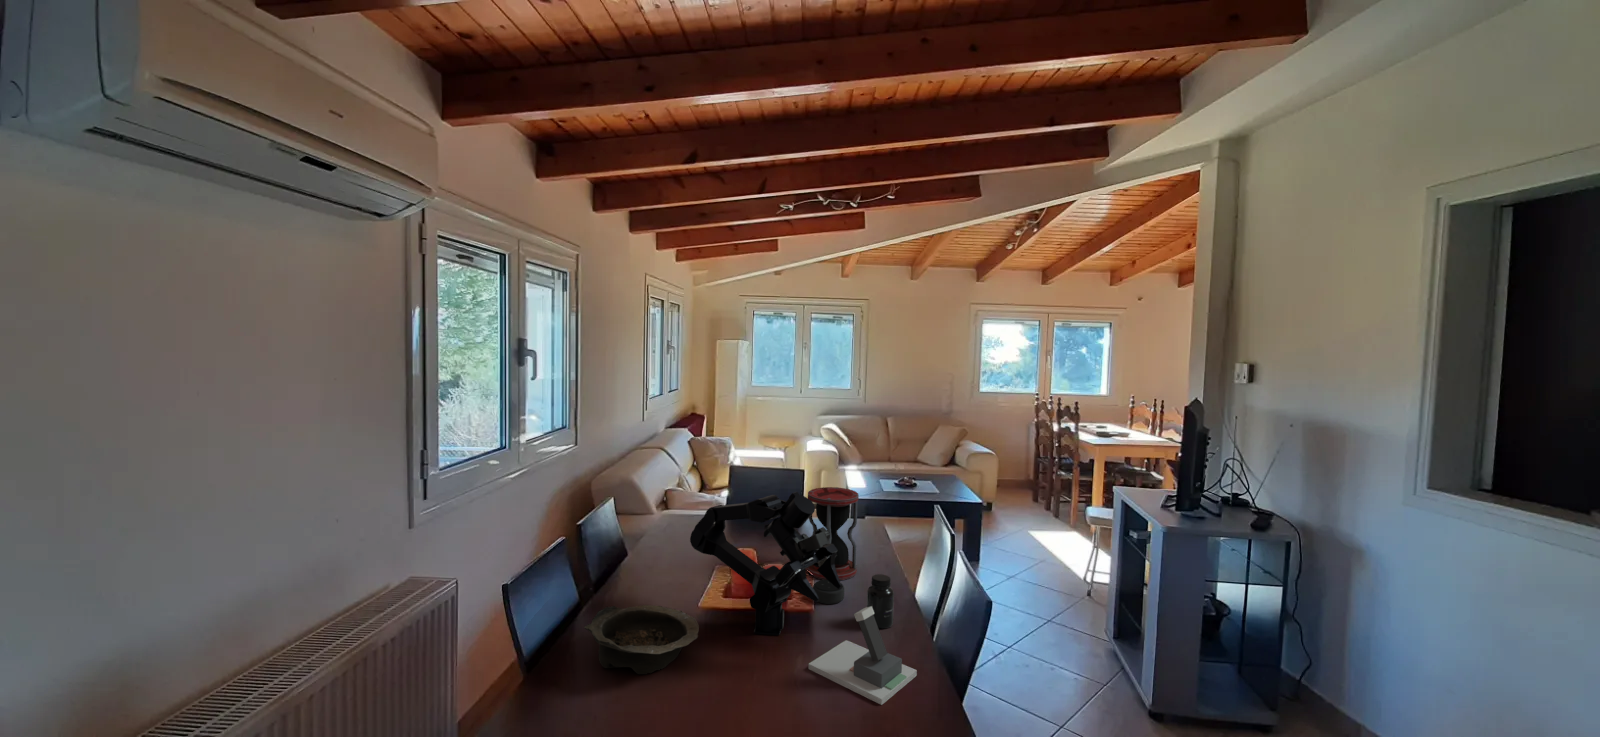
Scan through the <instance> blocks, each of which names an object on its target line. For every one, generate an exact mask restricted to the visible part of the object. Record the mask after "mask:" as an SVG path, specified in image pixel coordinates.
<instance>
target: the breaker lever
mask: <svg viewBox="0 0 1600 737" xmlns="http://www.w3.org/2000/svg"><path fill="white" fill-rule="evenodd" d="M873 614H875V613H874V611H873V608H872V606H871V607H867V606H866V607H864V608H862V609H860V610H858V611H857V612H855V613H854V614H853V615H854V617H855V618H854V619H855V620H856V622H858V624H859V627H860V630H861V633H862V636H863V639H864V641H865V644H866V646H867V649H868V650H869V652H870V655H871V658H872V661H878V660H880V659H881V658H882V657H884V656H885V655H886V654H888V653H889V652H888V651H887V649H886V646H885V642H884V640H883V638H882V635H881V632H880V629H879V628H878V626H877V623H876V621H875V618H874V615H873Z"/></svg>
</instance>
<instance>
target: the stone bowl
mask: <svg viewBox="0 0 1600 737" xmlns="http://www.w3.org/2000/svg"><path fill="white" fill-rule="evenodd" d="M699 628H700V625H699V623H698V621H697V620H696V618H695V617H693V616H691V615H688V613H685V612H684V611H682V610H678V609H676V608H672V607H670V608H669V607H665V606H662V605H651V604H650V605H649V604H643V605H637V606H630V607H629V606H628V607H625V608H621V607H618V606H615V605H613V606H605V607H604V608H603V609H601V610H598V611H597V613H596V615H595V616H594V617H593V618H592V621H591V623H590V624H587V625H584V627H583V629H585V630H587V631H588V632H589V633H591V634H592V636H593V639H594V641H595V643H596V644H598V645H599V647H598V660H599V663H600V665H601V667H602V668H605V669H615V668H617V669H618V668H631V669H632V670H633V671H634V672H635V673H636V674H637V675H648V674H647V673H650V674H652V673H654V672H656V671H661V670H663V669H665V668H666V667H667V666H669V664H671V663H672V662H673V661H675V659H677V658H678V657H679V654H680V653H681V651H682V649H683V648H684V647H686V646H689V645H690V643H692V642H694V641H695V640H697V639H698V637H699V635H698V634H699V630H700V629H699ZM660 669H661V670H660Z"/></svg>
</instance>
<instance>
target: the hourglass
mask: <svg viewBox="0 0 1600 737" xmlns="http://www.w3.org/2000/svg"><path fill="white" fill-rule="evenodd" d="M859 497H860V495H859V493H858V492H857V491H855V490H853V489H848V488H844V487H837V486H836V487H835V486H834V487H832V486H829V487H825V486H824V487H818V488H812V489H811V490H808V492H807V498H808V499H809V500H811V501H812V502H813V503H814V504H816V505H815V513H816V518H817V520H818V521H819V522H820V523H821V525H822V527H824V528H825V529H826V530H827V531H828V533H829V534H830V538H829V539H828V541H829V543H830V544H834V546H835V547H836V548H837V550H838V551H837V552H836V557H835V561H834V564H835V568H836V571H837V574H838V577H839V580H840V581H845V580H849V579H851V578H853V577H855V576H856V575H857V572H858V571H857V570H858V565H857V544H856V541H855V540H854V539H853V535H852V534H853V530H854V529H855V528H856V527H857V526H856V525H857V523H858V501H859V499H860V498H859ZM852 504H853V512H852V514H853V515H852V517H853V518H852V520H853V521H852V523H851V526H850V527H848V530H847V532H846V535H847V539H848V541H849V542H851V545H852V555H851V556H852V557H851V558H852V560H851V559H850V558H849V556H850V555H849V548H848V546H847V544H846V542H845V541H844V540H843V538H841V537H840V536H839V534H838V531H839V530H840V529H841V528H842V527H843V526H844V525H845V523H846V522H847V521H848V519H849V517H850V513H851V512H850V510H851V509H850V508H851V506H850V505H852ZM808 521H809V522H810V524H811V526H812V534H811V536H813V535H815V530H817V529H818V527H817V524H816V523H815V521H814V519H813V514H812V515H811V516H810V517H809V518H808ZM823 546H824V545H823ZM819 549H820V548H819ZM815 553H816V552H815ZM815 553H814V554H815ZM810 562H811V561H810ZM806 569H807V570H808V571H810V572H811V573H812V574H813V576H814V577H813V576H812V577H813V578H815V579H818V580H827V579H826V578H825V577H824V576H823V575H822V574H820V573H819V572H818V571H817V569H818V567H815V566H814V565H812V566H810V567H808V568H806ZM806 569H805V570H806Z"/></svg>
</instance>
